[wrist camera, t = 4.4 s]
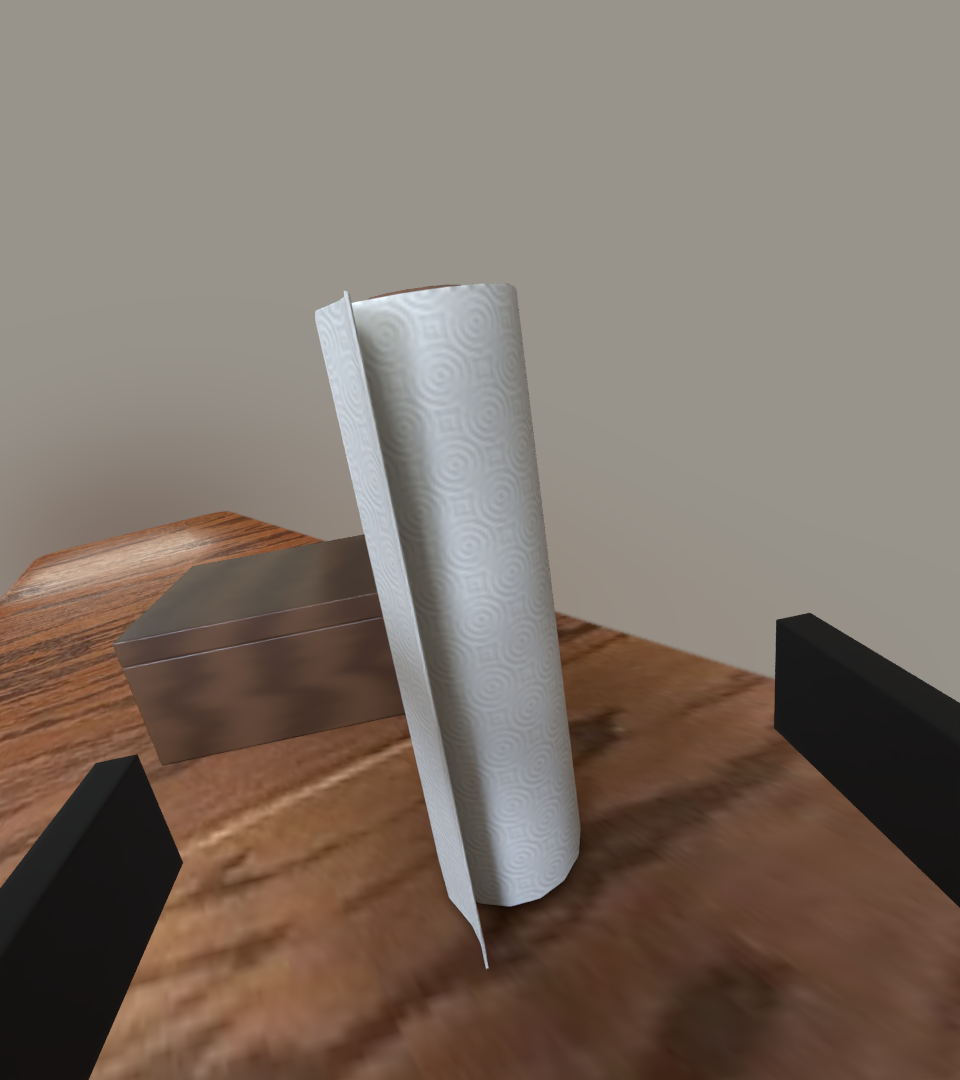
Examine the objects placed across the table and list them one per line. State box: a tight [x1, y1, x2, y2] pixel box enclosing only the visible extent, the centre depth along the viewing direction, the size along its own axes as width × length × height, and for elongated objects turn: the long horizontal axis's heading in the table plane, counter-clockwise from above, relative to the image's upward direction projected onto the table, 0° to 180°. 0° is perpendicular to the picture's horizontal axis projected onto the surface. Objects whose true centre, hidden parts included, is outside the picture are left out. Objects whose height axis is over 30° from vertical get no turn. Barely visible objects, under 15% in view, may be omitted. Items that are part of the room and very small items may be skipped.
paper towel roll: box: [315, 284, 581, 969], centre depth 20 cm, size 7×6×21 cm
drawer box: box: [113, 535, 405, 765], centre depth 37 cm, size 16×12×8 cm
